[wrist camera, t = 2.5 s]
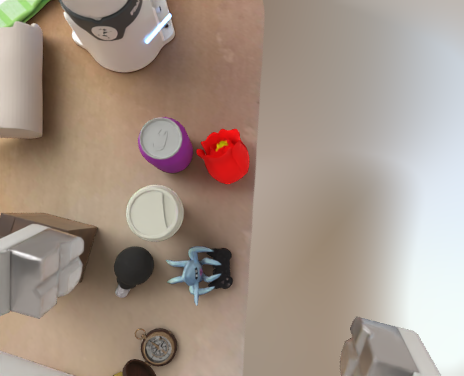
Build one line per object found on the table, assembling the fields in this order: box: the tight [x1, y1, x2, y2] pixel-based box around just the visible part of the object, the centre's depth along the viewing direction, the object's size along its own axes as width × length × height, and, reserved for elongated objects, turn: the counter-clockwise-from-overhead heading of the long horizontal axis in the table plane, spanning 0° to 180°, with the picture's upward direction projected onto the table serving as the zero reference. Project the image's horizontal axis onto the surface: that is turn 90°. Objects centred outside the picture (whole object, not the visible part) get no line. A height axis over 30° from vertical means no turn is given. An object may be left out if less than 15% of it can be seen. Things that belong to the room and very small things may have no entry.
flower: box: [196, 129, 249, 184], centre depth 54 cm, size 8×8×8 cm
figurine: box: [166, 246, 233, 305], centre depth 53 cm, size 10×12×8 cm
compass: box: [122, 329, 177, 376], centre depth 52 cm, size 8×8×7 cm
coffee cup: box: [126, 185, 184, 242], centre depth 51 cm, size 8×8×12 cm
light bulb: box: [114, 246, 154, 298], centre depth 54 cm, size 6×6×10 cm
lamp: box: [0, 213, 97, 284], centre depth 40 cm, size 11×11×33 cm
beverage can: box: [138, 117, 193, 173], centre depth 52 cm, size 8×8×12 cm
